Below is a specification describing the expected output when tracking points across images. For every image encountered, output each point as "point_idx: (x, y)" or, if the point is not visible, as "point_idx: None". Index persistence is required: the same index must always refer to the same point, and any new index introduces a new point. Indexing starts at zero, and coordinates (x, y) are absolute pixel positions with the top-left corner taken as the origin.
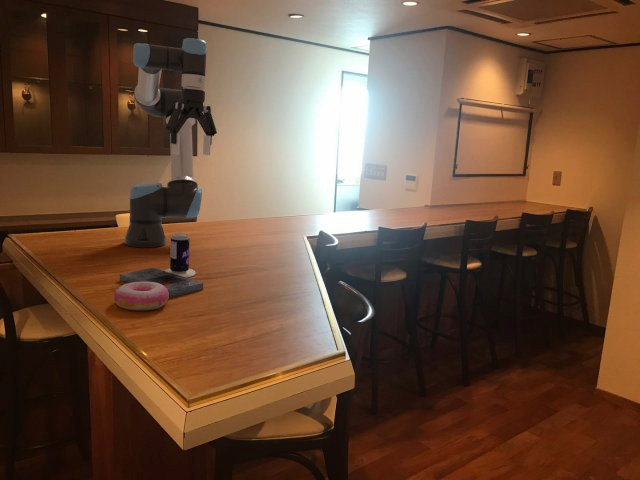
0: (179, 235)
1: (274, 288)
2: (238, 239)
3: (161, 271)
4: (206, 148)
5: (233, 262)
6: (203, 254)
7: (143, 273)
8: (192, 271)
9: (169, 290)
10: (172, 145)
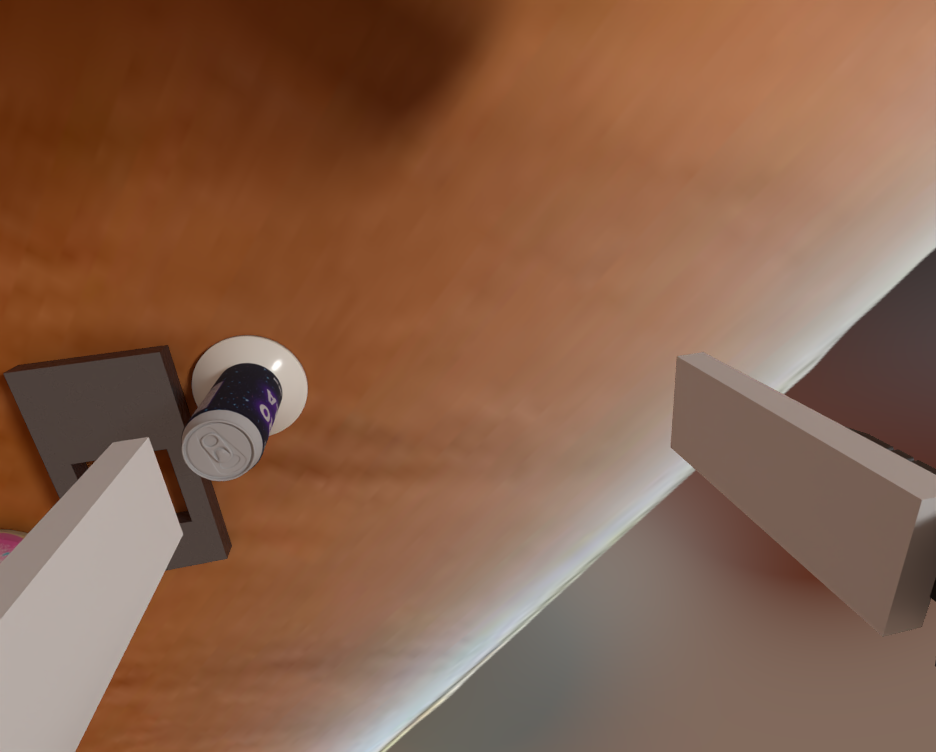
0: (211, 456)
1: (406, 608)
2: (814, 34)
3: (164, 407)
4: (724, 448)
5: (501, 355)
6: (492, 196)
7: (93, 400)
8: (294, 403)
9: None
10: (48, 524)
